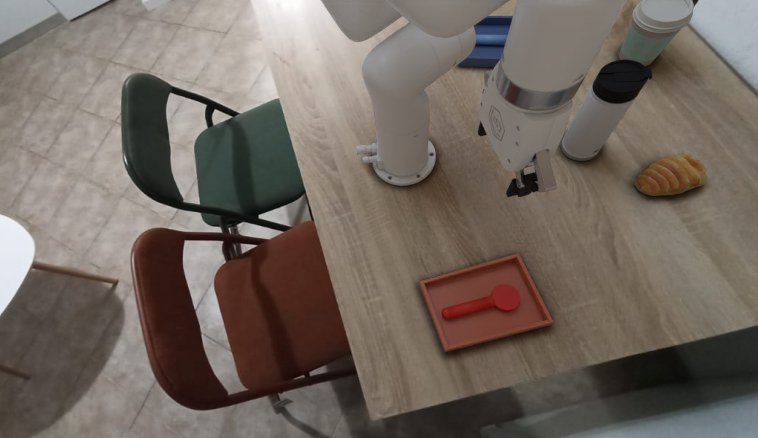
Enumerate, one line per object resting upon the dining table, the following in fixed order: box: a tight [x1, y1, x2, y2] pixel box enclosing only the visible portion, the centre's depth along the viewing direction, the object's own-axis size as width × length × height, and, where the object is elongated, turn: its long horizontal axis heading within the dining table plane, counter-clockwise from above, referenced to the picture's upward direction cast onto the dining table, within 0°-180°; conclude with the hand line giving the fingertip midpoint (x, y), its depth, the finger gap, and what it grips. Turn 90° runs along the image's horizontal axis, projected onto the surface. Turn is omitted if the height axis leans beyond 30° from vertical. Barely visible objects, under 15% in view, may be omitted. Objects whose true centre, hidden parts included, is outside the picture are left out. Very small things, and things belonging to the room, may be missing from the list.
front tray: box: [419, 252, 554, 353], centre depth 74 cm, size 17×12×2 cm
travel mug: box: [560, 59, 653, 162], centre depth 73 cm, size 6×7×20 cm
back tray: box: [457, 15, 513, 68], centre depth 94 cm, size 17×12×2 cm
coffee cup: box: [618, 0, 695, 67], centre depth 81 cm, size 8×8×12 cm
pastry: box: [634, 153, 707, 197], centre depth 74 cm, size 9×7×4 cm
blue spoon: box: [475, 35, 508, 45], centre depth 94 cm, size 13×4×2 cm, turn 73°
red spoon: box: [441, 284, 521, 319], centre depth 74 cm, size 13×4×2 cm, turn 102°
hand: (503, 160), depth 58 cm, fingers open, 9 cm apart
